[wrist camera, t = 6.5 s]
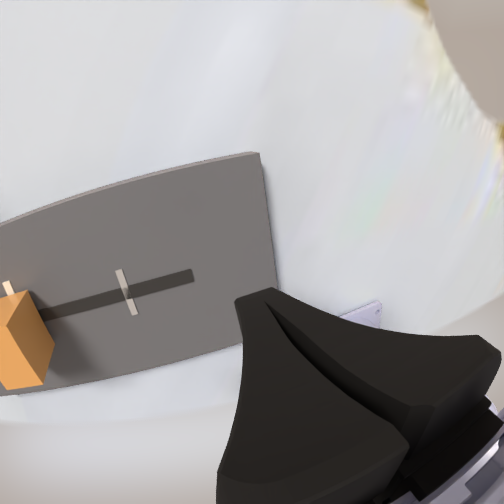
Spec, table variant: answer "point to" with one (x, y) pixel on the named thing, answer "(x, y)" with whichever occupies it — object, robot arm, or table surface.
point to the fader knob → (23, 343)
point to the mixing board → (142, 268)
